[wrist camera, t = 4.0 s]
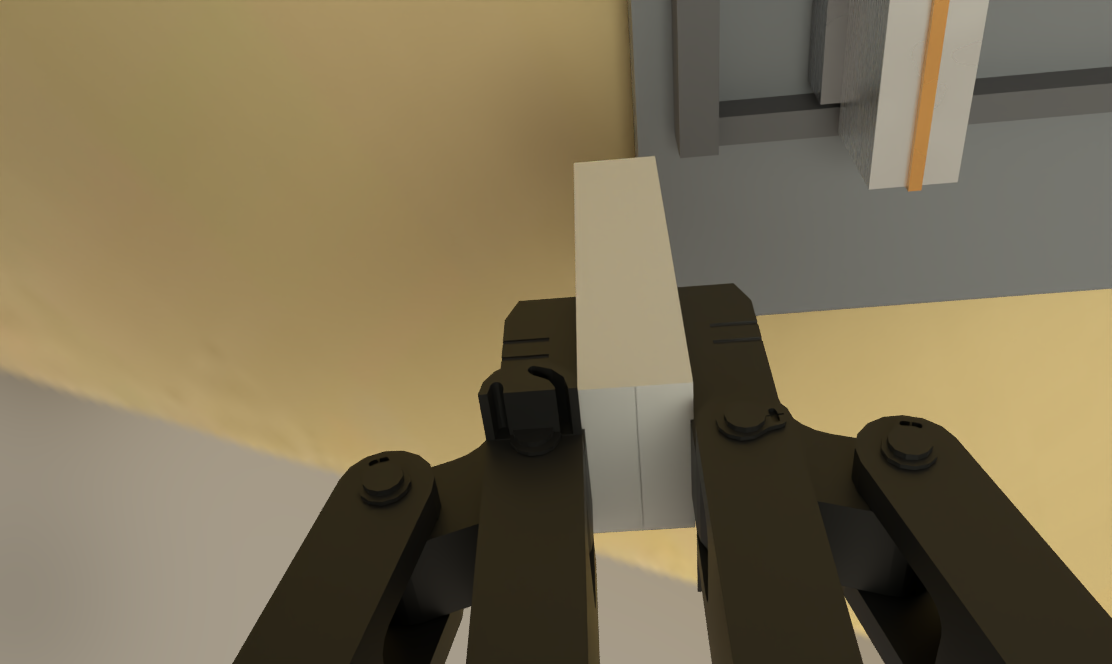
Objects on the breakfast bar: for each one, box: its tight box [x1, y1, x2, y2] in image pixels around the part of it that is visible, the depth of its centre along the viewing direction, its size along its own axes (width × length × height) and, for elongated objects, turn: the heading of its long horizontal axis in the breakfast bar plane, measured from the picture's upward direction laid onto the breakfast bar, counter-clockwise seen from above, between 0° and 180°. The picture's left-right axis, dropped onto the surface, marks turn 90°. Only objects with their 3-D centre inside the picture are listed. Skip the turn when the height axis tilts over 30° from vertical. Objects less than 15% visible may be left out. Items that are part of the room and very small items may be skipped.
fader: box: [808, 0, 989, 192], centre depth 23 cm, size 3×4×5 cm, turn 5°
